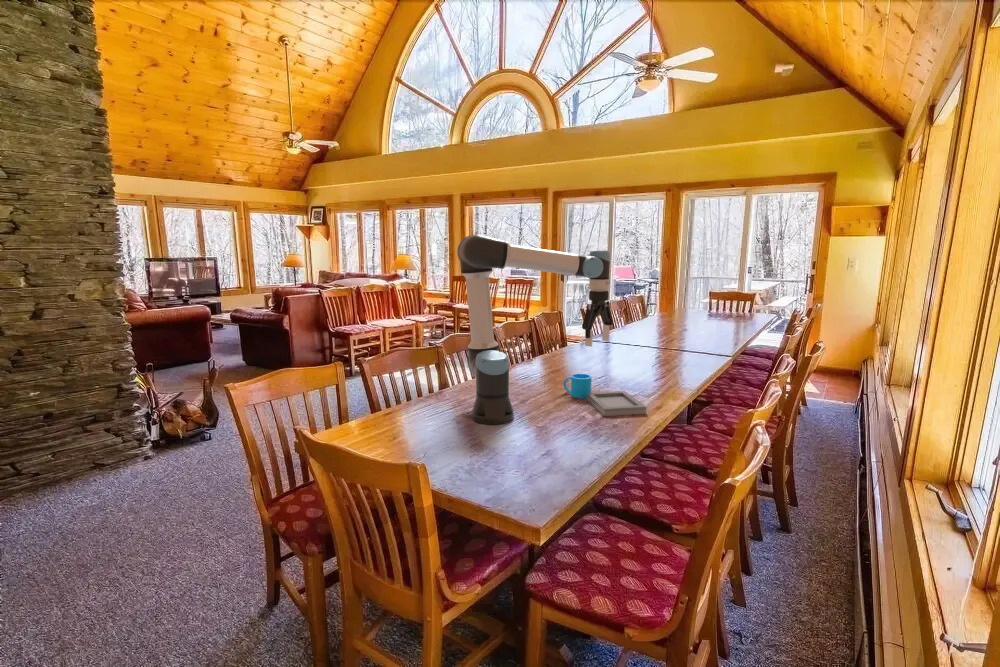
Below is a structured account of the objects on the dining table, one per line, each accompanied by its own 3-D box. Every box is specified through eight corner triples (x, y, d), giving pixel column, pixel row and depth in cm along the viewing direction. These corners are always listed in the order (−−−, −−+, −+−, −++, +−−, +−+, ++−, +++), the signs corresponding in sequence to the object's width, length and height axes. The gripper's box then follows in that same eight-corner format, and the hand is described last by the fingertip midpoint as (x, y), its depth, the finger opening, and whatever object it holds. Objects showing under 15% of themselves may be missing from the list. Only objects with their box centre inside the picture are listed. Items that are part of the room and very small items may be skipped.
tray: (604, 416, 179) (604, 409, 178) (586, 399, 198) (586, 393, 198) (646, 413, 181) (646, 406, 181) (624, 397, 201) (624, 391, 200)
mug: (594, 394, 205) (594, 375, 204) (586, 399, 198) (586, 380, 197) (567, 390, 211) (567, 371, 210) (559, 395, 205) (559, 375, 203)
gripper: (591, 293, 181) (589, 349, 185) (622, 288, 200) (620, 339, 204) (573, 292, 186) (572, 347, 190) (605, 287, 205) (604, 337, 209)
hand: (597, 343), depth 197 cm, fingers open, 13 cm apart
